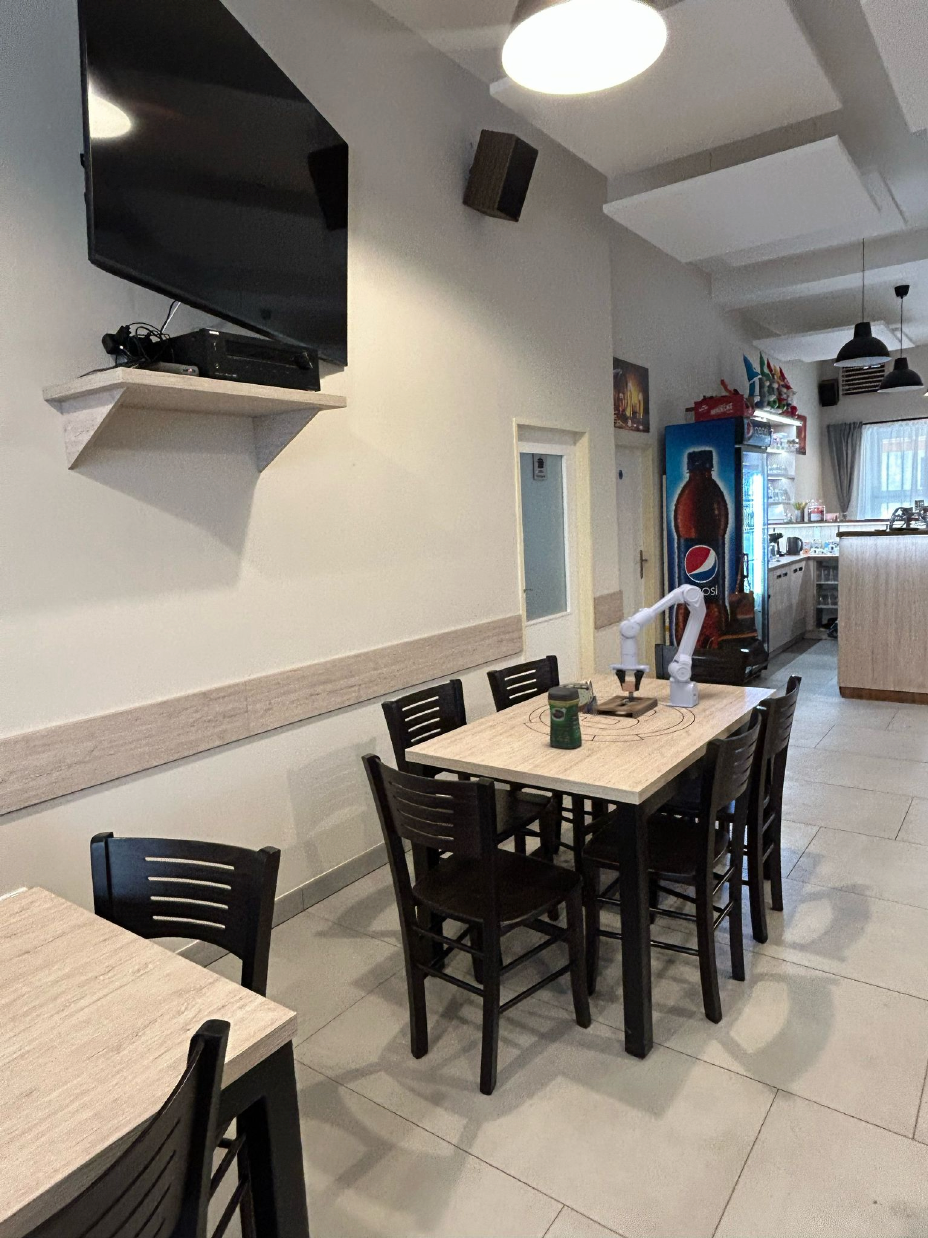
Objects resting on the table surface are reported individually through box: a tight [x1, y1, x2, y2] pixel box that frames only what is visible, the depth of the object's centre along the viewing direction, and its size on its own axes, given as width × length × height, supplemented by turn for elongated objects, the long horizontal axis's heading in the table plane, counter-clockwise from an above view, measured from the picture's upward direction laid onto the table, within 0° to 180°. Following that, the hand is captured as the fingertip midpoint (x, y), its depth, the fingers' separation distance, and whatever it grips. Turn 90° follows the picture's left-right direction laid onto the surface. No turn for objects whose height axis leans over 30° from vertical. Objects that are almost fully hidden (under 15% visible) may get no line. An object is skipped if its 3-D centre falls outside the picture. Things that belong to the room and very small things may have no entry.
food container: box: [557, 682, 592, 714], centre depth 291 cm, size 12×6×10 cm, turn 84°
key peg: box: [622, 680, 639, 706], centre depth 291 cm, size 5×5×8 cm
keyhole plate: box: [592, 694, 659, 719], centre depth 287 cm, size 16×20×3 cm
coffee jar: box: [547, 686, 583, 749], centre depth 246 cm, size 10×8×19 cm
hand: (630, 690), depth 291 cm, fingers closed on key peg, 5 cm apart
